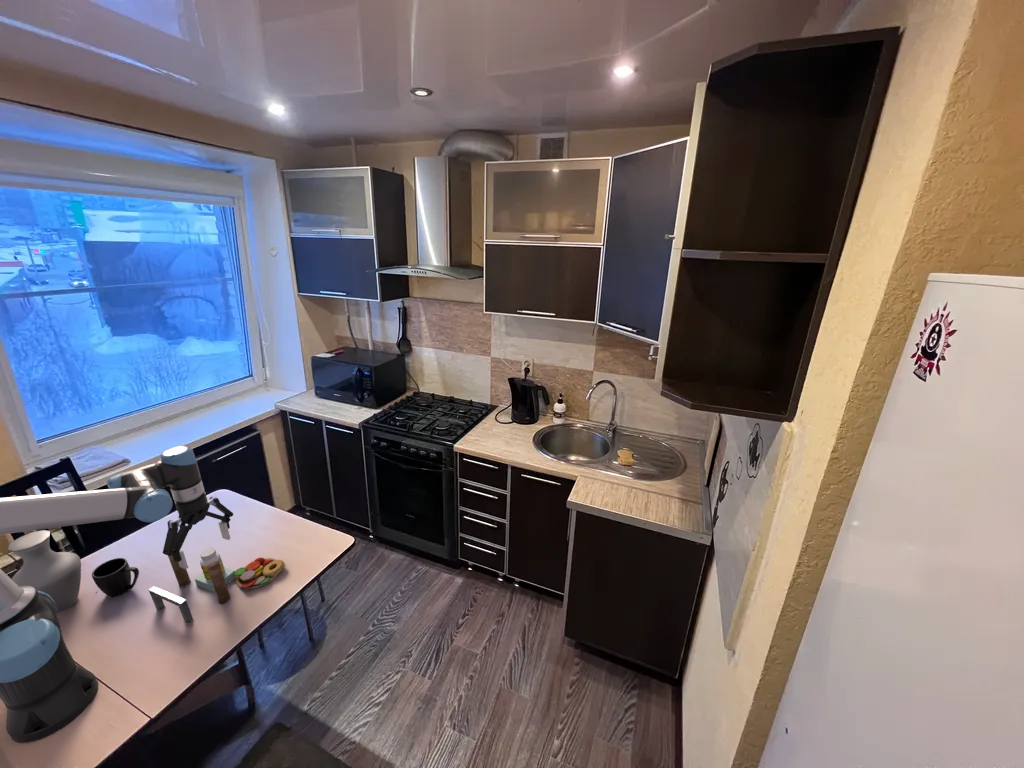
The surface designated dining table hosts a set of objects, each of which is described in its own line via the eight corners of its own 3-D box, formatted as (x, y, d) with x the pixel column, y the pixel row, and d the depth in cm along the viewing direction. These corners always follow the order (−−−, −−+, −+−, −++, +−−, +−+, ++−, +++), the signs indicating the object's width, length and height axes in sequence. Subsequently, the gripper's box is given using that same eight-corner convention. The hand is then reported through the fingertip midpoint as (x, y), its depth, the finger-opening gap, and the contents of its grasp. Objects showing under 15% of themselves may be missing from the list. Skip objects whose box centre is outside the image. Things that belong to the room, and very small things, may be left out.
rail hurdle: (188, 623, 123) (180, 603, 120) (156, 609, 128) (148, 589, 125) (193, 619, 125) (186, 599, 122) (161, 605, 129) (153, 586, 126)
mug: (133, 601, 130) (123, 578, 127) (94, 601, 131) (83, 577, 127) (154, 580, 138) (145, 557, 135) (118, 580, 138) (108, 557, 135)
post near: (223, 605, 129) (212, 570, 124) (216, 602, 130) (204, 567, 125) (232, 597, 132) (221, 562, 127) (225, 594, 133) (214, 560, 128)
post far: (183, 588, 135) (170, 554, 130) (177, 585, 136) (164, 551, 131) (192, 581, 138) (180, 547, 133) (186, 578, 139) (174, 545, 134)
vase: (83, 579, 138) (53, 517, 129) (103, 596, 132) (73, 532, 123) (20, 612, 127) (-17, 547, 117) (40, 633, 120) (1, 566, 111)
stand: (216, 592, 134) (214, 586, 133) (196, 584, 137) (194, 578, 136) (236, 576, 140) (234, 570, 139) (217, 569, 143) (215, 563, 142)
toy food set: (290, 569, 143) (288, 562, 142) (253, 598, 132) (250, 590, 131) (265, 556, 149) (263, 548, 148) (227, 582, 138) (225, 575, 137)
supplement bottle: (201, 579, 135) (193, 555, 132) (217, 567, 140) (209, 543, 137) (213, 583, 134) (205, 560, 130) (229, 571, 139) (221, 548, 135)
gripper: (152, 524, 114) (172, 584, 121) (237, 476, 136) (250, 530, 143) (134, 517, 116) (155, 577, 123) (220, 472, 138) (234, 525, 145)
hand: (206, 552), depth 133 cm, fingers open, 13 cm apart
